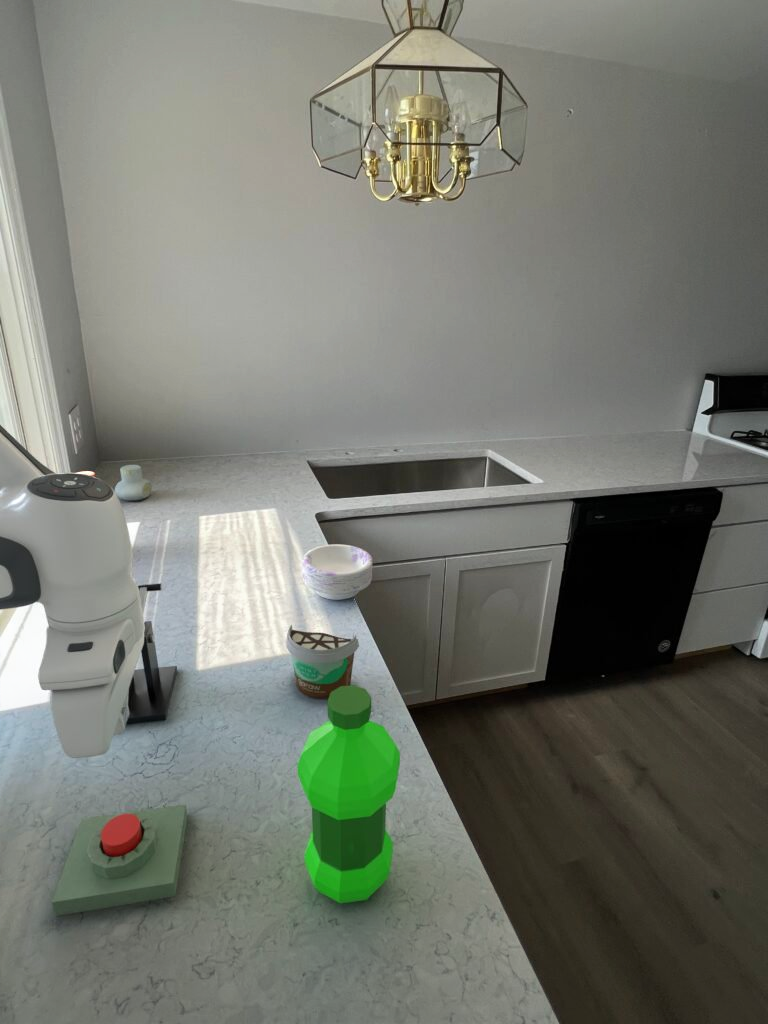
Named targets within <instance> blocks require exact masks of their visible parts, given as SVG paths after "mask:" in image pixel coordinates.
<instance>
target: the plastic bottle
mask: <svg viewBox="0 0 768 1024" xmlns="http://www.w3.org/2000/svg"><path fill="white" fill-rule="evenodd" d="M326 705H327V718H328V719H329V720H328V721H326V722H324V723H323V724H321V725H320V726H318V727H317V728H315V729H313V730H312V731H311V732H309V734H308V737H307V739H306V740H305V744H304V746H303V748H302V752H301V754H300V756H299V758H298V762H297V764H296V766H297V776H298V779H299V782H300V785H301V787H302V789H303V791H304V793H305V796H306V798H307V800H308V803H309V805H310V807H311V821H312V831H311V832H310V836H309V839H308V842H307V846H306V849H305V851H304V863H305V866H306V868H307V871H308V873H309V876H310V878H311V882H312V884H313V886H314V888H315V889H316V891H317V892H319V893H320V894H323V895H324V896H326V897H327V898H330V899H331V900H333V901H335V902H337V903H338V904H347V903H353V902H360V901H367V900H368V899H369V898H370V897H371V896H372V895H373V894H374V893H375V892H376V891H377V890H378V889H379V888H380V887H382V885H383V884H384V883H385V882H387V880H388V879H389V877H390V871H391V865H392V858H393V852H394V842H393V840H392V838H391V836H390V835H389V833H388V831H387V829H386V820H387V819H386V818H387V803H388V802H389V801H390V800H391V799H393V798H394V794H395V793H396V792H395V791H396V789H397V781H398V776H399V770H400V764H401V752H400V750H399V748H398V746H397V744H396V742H395V741H394V740H393V738H392V737H391V735H390V734H389V732H388V731H387V729H386V727H384V725H382V724H379V723H377V722H375V721H372V720H370V718H371V715H372V695H370V693H369V692H368V690H367V689H366V688H364V687H360V686H357V685H356V684H355V685H354V684H352V685H351V684H350V686H341V687H339V688H337V689H336V690H334V691H332V692H331V693H330V696H329V698H328V699H327V704H326Z"/></svg>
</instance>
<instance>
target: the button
mask: <svg viewBox="0 0 768 1024" xmlns="http://www.w3.org/2000/svg"><path fill="white" fill-rule="evenodd" d="M141 837H142V831H141V826H140V821H139V819H138V817H137V816H135V815H133V814H122V815H119V816H116V817H114V818H113V819H111V820H110V821H109V822H108V823H107V824H106V825H105V826H104V828H103V830H102V832H101V841H102V845H103V849H104V851H105V853H106V854H107V855H109V856H113V857H118V856H122V855H125V854H127V853H129V852H131V851H132V850H133V849H134V848H135V847H136V846H137V845H138V844H139V842H140V840H141Z"/></svg>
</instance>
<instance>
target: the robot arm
mask: <svg viewBox="0 0 768 1024" xmlns="http://www.w3.org/2000/svg"><path fill="white" fill-rule="evenodd" d="M133 560H134V553H133V548H132V542H131V535H130V532H129V528H128V523H127V520H126V516H125V512H124V509H123V507H122V504H121V501H120V498H119V497H118V496H117V495H116V493H115V489H113V487H112V486H111V485H110V484H109V483H108V482H106V481H105V480H103V479H101V478H98V477H96V476H95V477H94V476H90V475H86V474H80V473H78V472H61V473H60V472H59V473H56V472H54V471H53V470H52V469H50V468H48V467H47V466H45V465H44V464H43V463H42V462H40V461H39V460H38V459H37V458H36V457H35V456H34V455H33V454H32V453H30V452H29V451H28V450H27V448H25V447H24V446H23V445H22V444H21V443H20V442H19V441H18V440H17V439H16V438H15V437H14V436H13V435H12V434H11V433H9V432H8V431H7V429H5V428H4V427H3V426H2V425H1V424H0V610H8V609H16V608H22V607H27V606H31V605H33V604H35V603H38V604H41V605H42V607H43V609H44V612H45V617H46V621H47V627H46V633H45V635H46V640H45V648H44V651H43V654H42V659H41V662H40V666H39V668H38V673H37V679H38V684H39V686H40V688H41V691H50V694H49V707H50V713H51V716H52V721H53V725H54V728H55V731H56V735H57V737H58V741H59V743H60V746H61V749H62V751H63V753H64V754H65V756H67V757H69V758H70V759H84V758H91V757H92V758H93V757H98V756H102V755H105V754H107V753H108V752H109V750H110V747H111V743H112V741H113V739H114V738H113V737H114V736H116V735H122V734H123V733H125V730H126V727H127V724H126V723H127V719H128V717H129V714H130V713H129V708H128V693H129V686H130V683H131V680H132V677H133V674H134V671H135V670H136V669H137V666H138V662H139V659H140V657H141V650H142V647H143V645H144V631H145V624H144V622H145V619H144V612H142V606H141V600H140V594H139V588H138V585H139V584H138V583H137V581H136V580H135V578H134V575H133V571H132V565H133Z"/></svg>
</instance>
